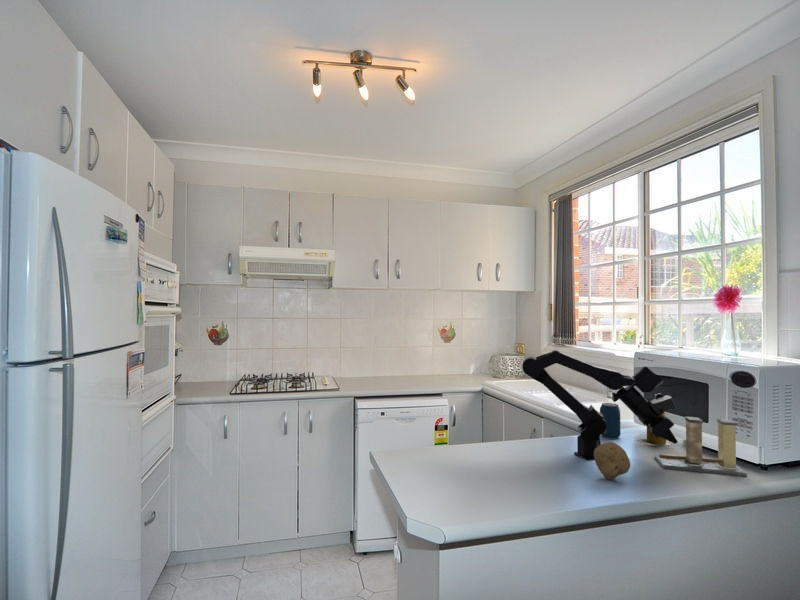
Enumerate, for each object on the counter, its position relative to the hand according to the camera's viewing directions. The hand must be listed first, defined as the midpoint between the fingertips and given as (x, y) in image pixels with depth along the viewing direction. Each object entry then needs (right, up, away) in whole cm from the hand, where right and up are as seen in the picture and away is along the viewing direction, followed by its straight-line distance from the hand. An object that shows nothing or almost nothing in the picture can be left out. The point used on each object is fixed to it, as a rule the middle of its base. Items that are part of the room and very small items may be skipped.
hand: (676, 442), depth 135 cm
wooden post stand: (+5, -7, -2) cm, 9 cm away
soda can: (-6, -8, +30) cm, 32 cm away
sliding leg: (+4, -5, -2) cm, 7 cm away
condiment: (+6, -8, +23) cm, 25 cm away
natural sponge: (-26, -6, -13) cm, 29 cm away
